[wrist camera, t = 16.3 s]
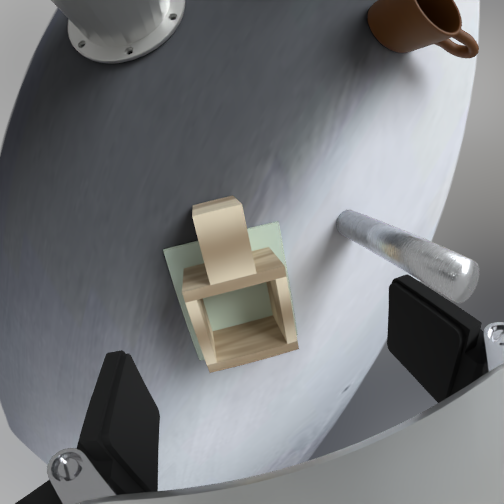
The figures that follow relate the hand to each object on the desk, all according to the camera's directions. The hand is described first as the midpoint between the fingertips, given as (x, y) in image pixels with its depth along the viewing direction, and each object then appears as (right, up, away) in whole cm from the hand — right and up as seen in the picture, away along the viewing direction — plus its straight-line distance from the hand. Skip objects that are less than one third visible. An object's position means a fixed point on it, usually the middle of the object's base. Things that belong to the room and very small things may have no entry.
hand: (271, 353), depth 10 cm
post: (+10, +7, +24) cm, 26 cm away
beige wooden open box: (-3, +1, +22) cm, 22 cm away
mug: (+18, +30, +18) cm, 40 cm away
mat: (-2, -1, +24) cm, 24 cm away
